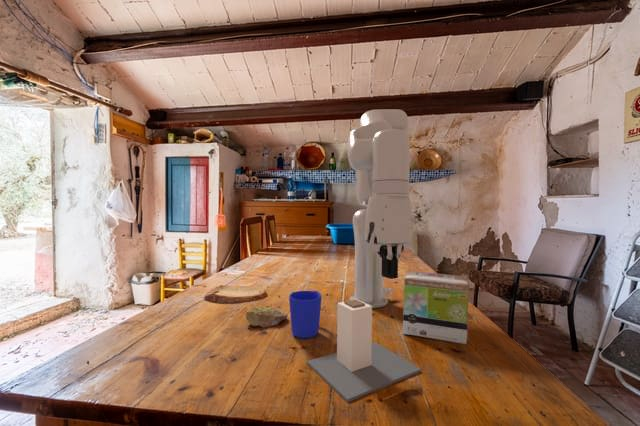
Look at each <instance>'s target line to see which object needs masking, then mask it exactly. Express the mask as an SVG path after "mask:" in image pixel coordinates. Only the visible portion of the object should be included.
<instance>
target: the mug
mask: <svg viewBox="0 0 640 426" xmlns="http://www.w3.org/2000/svg"><path fill="white" fill-rule="evenodd" d="M288 298H289V299H288V300H289V314H290V325H291V328H290V329H291V333H292V335H293V336H294V337H296V338H299V339H312V338H314V337H316V336H317V335H318V333H319V330H320V319H321V311H322V294H321V293H320V292H319V291H318V290H298V291H294V292H292V293H290V294H289V296H288Z"/></svg>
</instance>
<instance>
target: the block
mask: <svg viewBox="0 0 640 426" xmlns="http://www.w3.org/2000/svg"><path fill="white" fill-rule="evenodd" d="M336 315H337V319H336V320H337V322H336V323H337V325H336V326H337V327H336V328H337V329H336V332H337V333H336V335H337V336H336V337H337V338H336V352H337V361H339V362H340V363H341V364H342V365H344V366H345V367H346V368H347V369H348V370H350V371H351V372H352V371H355V370H358V369H361V368H364V367H367V366H370V365H371V355H372V341H373V339H372V338H373V337H372V336H373V308H372V306H371V305H368V304H366V303H364V302H362V301H359V300H357V299H356V300H351V301H350V300H347V301H340V302H337V313H336Z"/></svg>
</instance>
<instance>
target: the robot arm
mask: <svg viewBox="0 0 640 426" xmlns="http://www.w3.org/2000/svg"><path fill="white" fill-rule="evenodd" d="M408 129H409V118H408V114H407V113H406V112H405V111H404V110H402V109H394V108H393V109H390V108H389V109H388V108H387V109H384V108H383V109H371V110H367V111H365V112H364V113H363V114H362V115H361V117H360V120H359V127H357V128H355V129H352V131H350V132H349V135H348V140H347V141H348V142H347V159H348V163H349V166H350V168H351V169H352V170H353V171H355V174H356V175H355V176H356V177H355V178H356V184H355V185H356V186H355V187H356V188H355V189H356V200H357V202H358V204H359V205H360V206H363V207H366V208H363V209H359V210H357V211H356V212H355V213H354V214H353V216H352V228H353V237H354V294H352V295H351V296H350V297H349V301H351V300H356V299H357V300H359V301H362V302H364V303H366V304H368V305H371V306H372V309H376V308H377V309H378V308H383V307H385V306H387V305H388V298H387V297H386V296H387V295H390V294H391V295H392V294H393V293H394V290H393V288H391V287H390V288H385V287H384V278H386V279H390V280H393V279H398V278H399V260H400V258H401V257H402V252H403V251H404V250H407V249H409V248H410V247H411V246H410V242H412V239H413V233H414V224H413V223H414V222H413V221H414V219H413V217H414V216H413V208H412V202H411V197H410V191H411V187H410V158H411V151H410V149H411V147H410V146H411V145H410V143H411V140H410V134H409V133H408V131H409V130H408Z"/></svg>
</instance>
